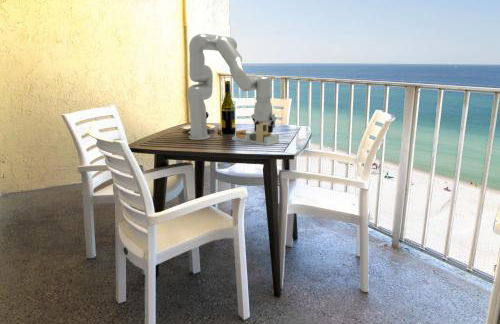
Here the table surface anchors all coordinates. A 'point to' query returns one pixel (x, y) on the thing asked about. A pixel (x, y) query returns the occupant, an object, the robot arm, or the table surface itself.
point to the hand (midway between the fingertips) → (263, 131)
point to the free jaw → (249, 135)
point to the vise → (267, 141)
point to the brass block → (262, 131)
